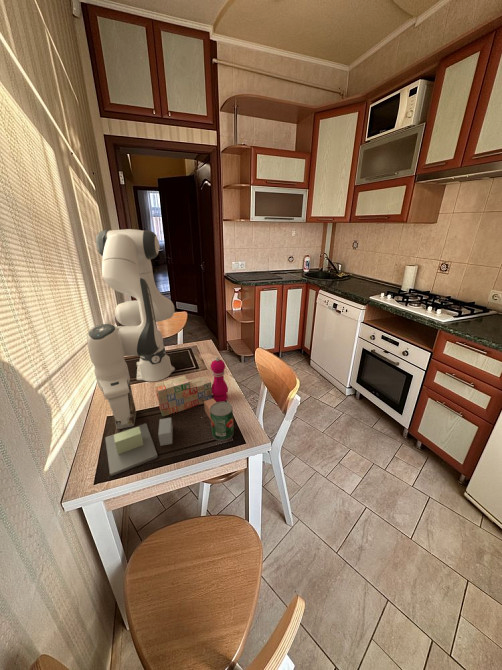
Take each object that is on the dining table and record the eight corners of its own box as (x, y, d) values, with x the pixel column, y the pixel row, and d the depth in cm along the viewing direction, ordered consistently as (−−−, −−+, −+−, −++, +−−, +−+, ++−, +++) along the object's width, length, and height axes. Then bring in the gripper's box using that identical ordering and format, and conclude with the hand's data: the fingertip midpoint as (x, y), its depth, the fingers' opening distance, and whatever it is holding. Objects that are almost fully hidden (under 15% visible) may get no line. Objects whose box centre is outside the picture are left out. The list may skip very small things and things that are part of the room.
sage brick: (116, 446, 92) (113, 434, 90) (141, 437, 96) (139, 426, 94) (118, 454, 89) (114, 442, 87) (143, 444, 93) (141, 433, 91)
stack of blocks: (207, 393, 122) (205, 369, 117) (212, 400, 117) (210, 376, 112) (159, 408, 113) (154, 383, 108) (162, 417, 108) (157, 390, 103)
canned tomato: (209, 428, 101) (207, 404, 97) (230, 423, 103) (228, 399, 99) (215, 443, 94) (212, 417, 90) (236, 437, 96) (235, 412, 92)
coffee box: (134, 426, 103) (126, 390, 97) (116, 430, 101) (106, 393, 95) (136, 411, 111) (129, 377, 105) (119, 414, 109) (111, 380, 103)
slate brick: (160, 446, 93) (158, 434, 92) (161, 430, 101) (159, 419, 99) (172, 443, 94) (170, 432, 92) (172, 428, 102) (171, 417, 100)
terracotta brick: (212, 423, 104) (211, 412, 102) (205, 411, 110) (203, 401, 108) (222, 419, 106) (221, 408, 104) (214, 408, 112) (213, 398, 110)
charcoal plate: (105, 439, 97) (105, 437, 96) (146, 425, 103) (146, 423, 103) (110, 476, 82) (109, 474, 82) (157, 457, 89) (157, 455, 88)
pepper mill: (214, 405, 114) (211, 362, 106) (209, 395, 120) (206, 355, 113) (230, 400, 117) (228, 359, 109) (225, 391, 123) (223, 352, 115)
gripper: (99, 365, 89) (108, 400, 95) (104, 398, 73) (115, 437, 78) (120, 360, 92) (128, 394, 97) (129, 391, 76) (138, 429, 81)
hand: (122, 414), depth 88 cm, fingers open, 8 cm apart
